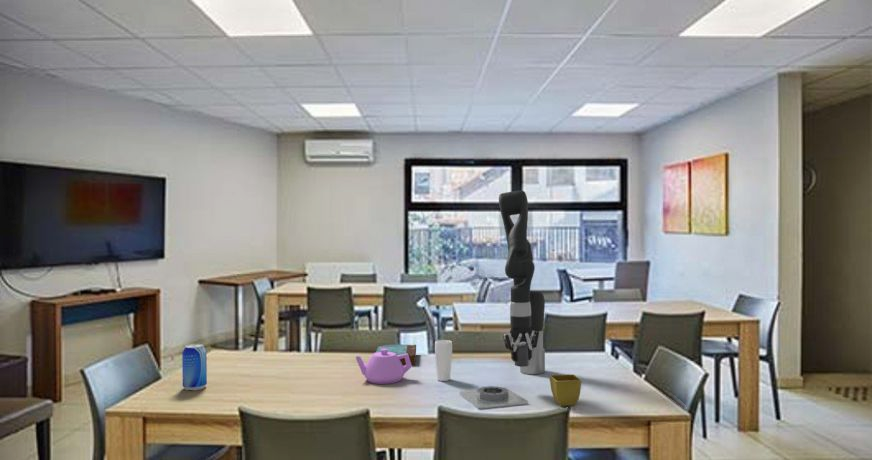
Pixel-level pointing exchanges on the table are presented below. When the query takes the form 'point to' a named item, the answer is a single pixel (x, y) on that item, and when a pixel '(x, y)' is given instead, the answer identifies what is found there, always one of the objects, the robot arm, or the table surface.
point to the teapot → (384, 367)
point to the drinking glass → (443, 359)
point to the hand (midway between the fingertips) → (521, 360)
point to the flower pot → (565, 389)
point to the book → (401, 351)
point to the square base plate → (492, 397)
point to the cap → (522, 355)
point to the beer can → (194, 367)
